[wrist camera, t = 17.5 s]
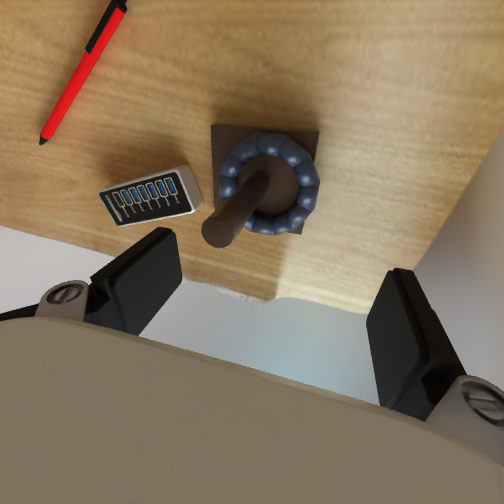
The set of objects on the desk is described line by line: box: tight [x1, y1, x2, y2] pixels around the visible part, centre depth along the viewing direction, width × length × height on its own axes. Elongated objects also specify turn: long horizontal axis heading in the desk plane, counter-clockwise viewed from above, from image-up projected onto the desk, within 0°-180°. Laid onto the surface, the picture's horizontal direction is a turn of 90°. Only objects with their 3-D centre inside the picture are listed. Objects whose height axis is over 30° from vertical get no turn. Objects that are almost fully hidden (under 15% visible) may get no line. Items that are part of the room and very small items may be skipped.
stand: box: [201, 124, 319, 249], centre depth 18 cm, size 9×9×11 cm
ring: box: [218, 132, 320, 235], centre depth 21 cm, size 9×9×2 cm
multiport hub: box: [98, 164, 204, 227], centre depth 26 cm, size 4×11×2 cm, turn 106°
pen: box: [39, 0, 127, 146], centre depth 22 cm, size 1×19×1 cm, turn 126°
